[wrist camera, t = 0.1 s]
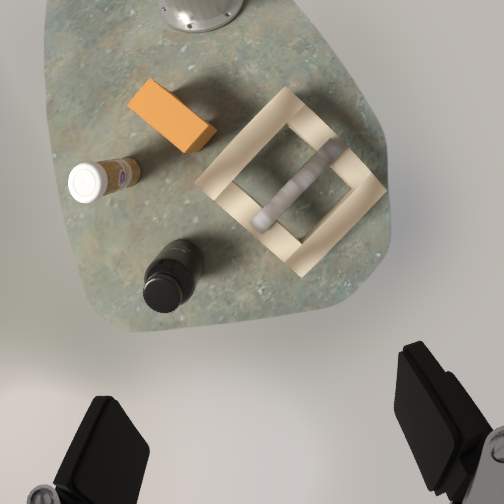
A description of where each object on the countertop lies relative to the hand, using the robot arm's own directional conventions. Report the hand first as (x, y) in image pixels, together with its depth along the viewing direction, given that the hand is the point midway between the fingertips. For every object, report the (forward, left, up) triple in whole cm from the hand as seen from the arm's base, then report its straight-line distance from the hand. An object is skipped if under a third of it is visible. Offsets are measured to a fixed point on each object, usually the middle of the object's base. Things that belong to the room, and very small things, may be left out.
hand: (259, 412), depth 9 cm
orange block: (-15, +2, -37) cm, 40 cm away
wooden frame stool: (+1, +6, -37) cm, 38 cm away
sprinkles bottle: (-17, -9, -37) cm, 42 cm away
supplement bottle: (-2, -14, -37) cm, 40 cm away
